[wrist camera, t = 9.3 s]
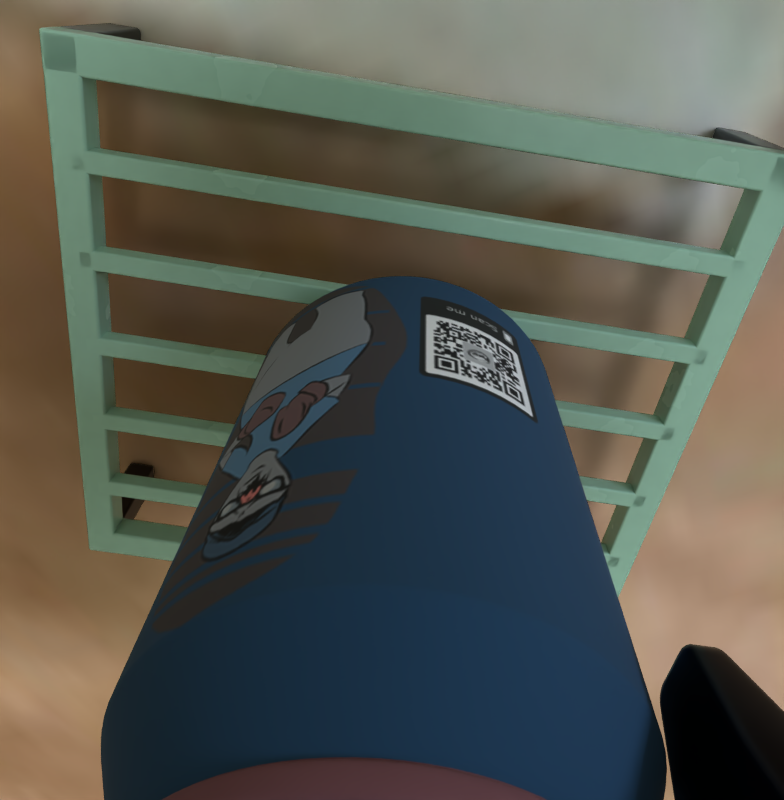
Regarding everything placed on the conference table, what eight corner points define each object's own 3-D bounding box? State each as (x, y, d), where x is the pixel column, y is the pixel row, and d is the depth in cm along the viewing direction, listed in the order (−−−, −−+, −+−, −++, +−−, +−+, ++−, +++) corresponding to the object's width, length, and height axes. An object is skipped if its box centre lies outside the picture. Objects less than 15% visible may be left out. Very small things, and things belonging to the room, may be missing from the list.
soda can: (461, 531, 20) (500, 1124, 9) (231, 440, 18) (-22, 1006, 8) (597, 331, 16) (895, 900, 6) (328, 205, 15) (114, 644, 5)
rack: (746, 131, 17) (814, 159, 14) (584, 546, 24) (607, 623, 21) (108, 22, 17) (37, 27, 14) (131, 480, 24) (88, 550, 21)
